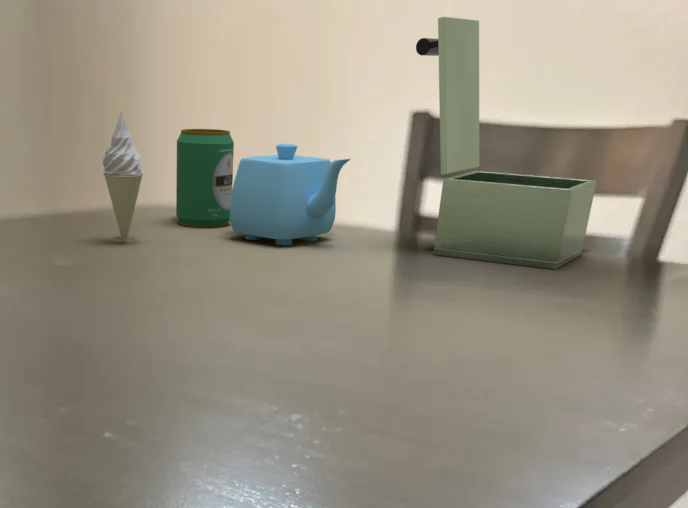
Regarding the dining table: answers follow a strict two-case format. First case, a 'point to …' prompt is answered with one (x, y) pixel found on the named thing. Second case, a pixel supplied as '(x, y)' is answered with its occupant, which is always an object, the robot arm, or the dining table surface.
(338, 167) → the teapot
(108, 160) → the ice cream cone
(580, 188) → the green open box
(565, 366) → the dining table surface
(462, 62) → the lid
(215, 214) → the beverage can
